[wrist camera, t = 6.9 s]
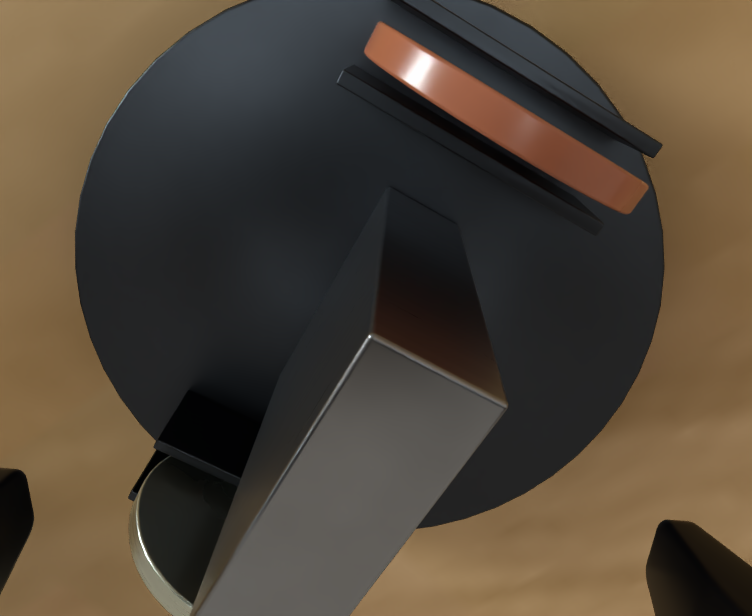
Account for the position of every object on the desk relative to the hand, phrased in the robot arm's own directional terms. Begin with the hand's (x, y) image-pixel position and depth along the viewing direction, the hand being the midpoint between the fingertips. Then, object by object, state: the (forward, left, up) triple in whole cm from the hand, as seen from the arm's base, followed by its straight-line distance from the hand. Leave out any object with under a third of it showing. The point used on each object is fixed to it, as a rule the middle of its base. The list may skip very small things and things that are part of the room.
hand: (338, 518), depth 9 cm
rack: (0, 0, -10) cm, 10 cm away
